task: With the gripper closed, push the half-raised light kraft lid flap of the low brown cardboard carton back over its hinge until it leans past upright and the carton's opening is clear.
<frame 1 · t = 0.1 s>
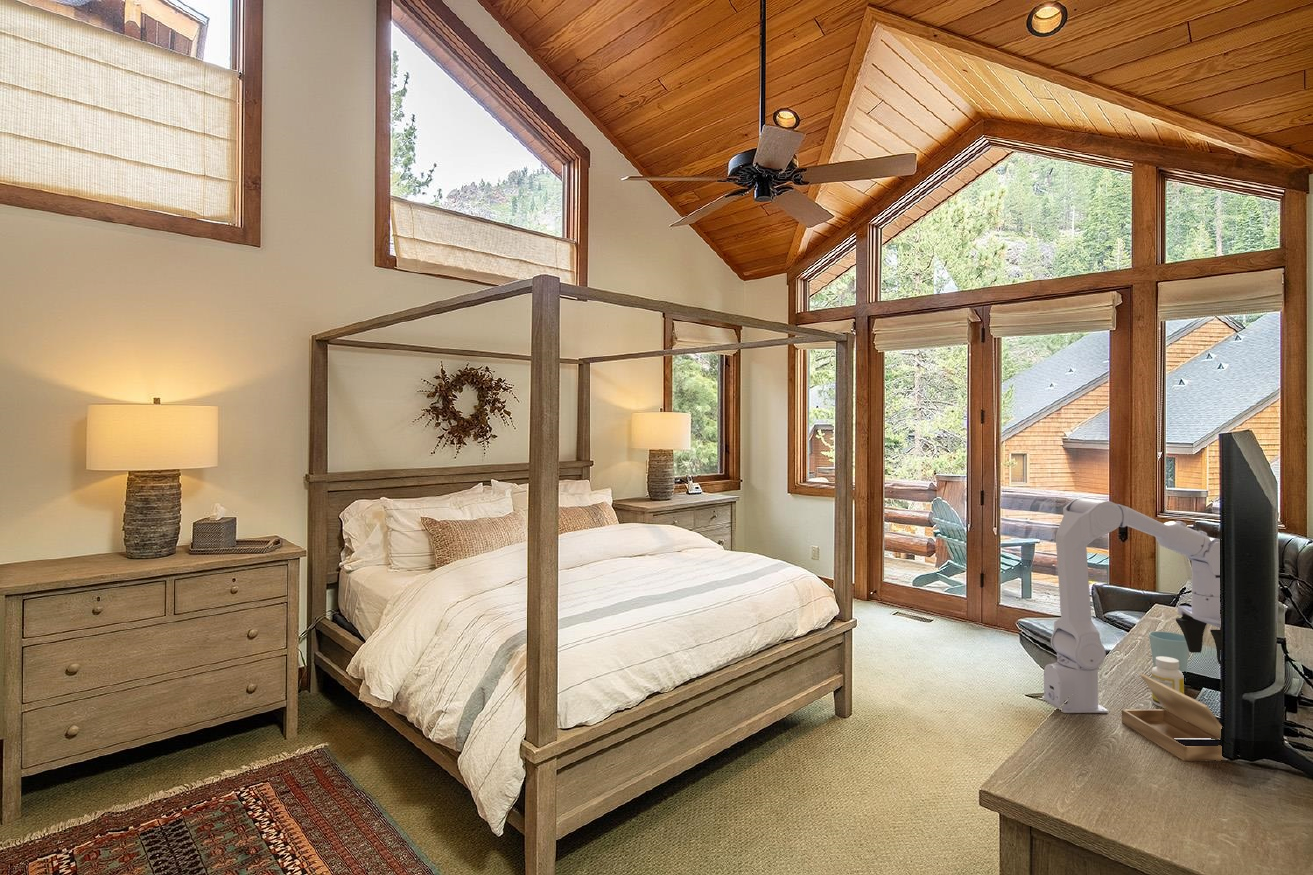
hand: (1209, 658, 140), 10 cm above the dresser, tool pointing down, fingers open, 7 cm apart
cup: (1169, 681, 154), on the dresser
carton: (1173, 740, 125), on the dresser
lid flap: (1184, 707, 125), point 6 cm above the dresser, hinge at 55.0°
supplement bottle: (1168, 706, 140), on the dresser
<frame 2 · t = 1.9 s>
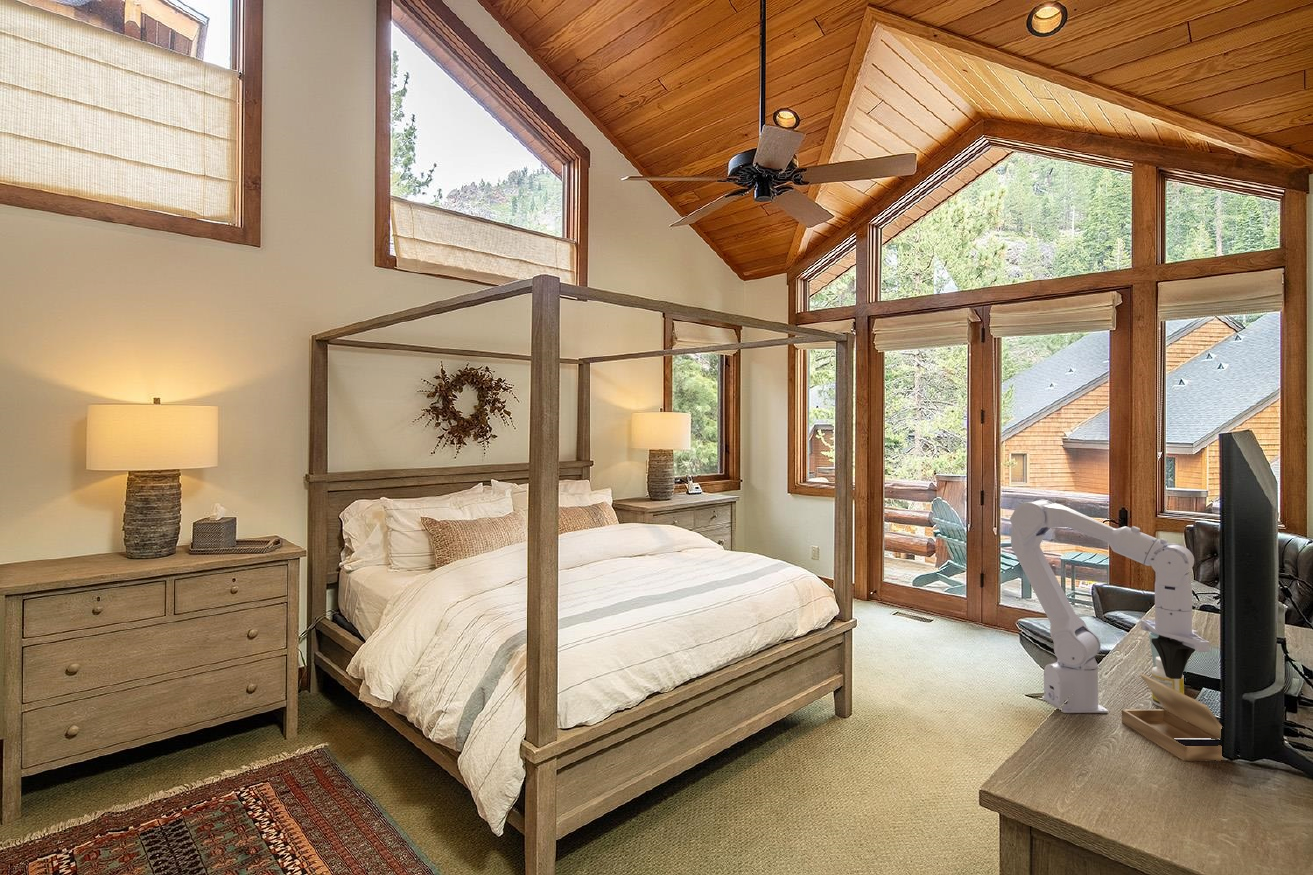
hand: (1173, 677, 128), 10 cm above the dresser, tool pointing down, fingers closed
nothing on the dresser moved.
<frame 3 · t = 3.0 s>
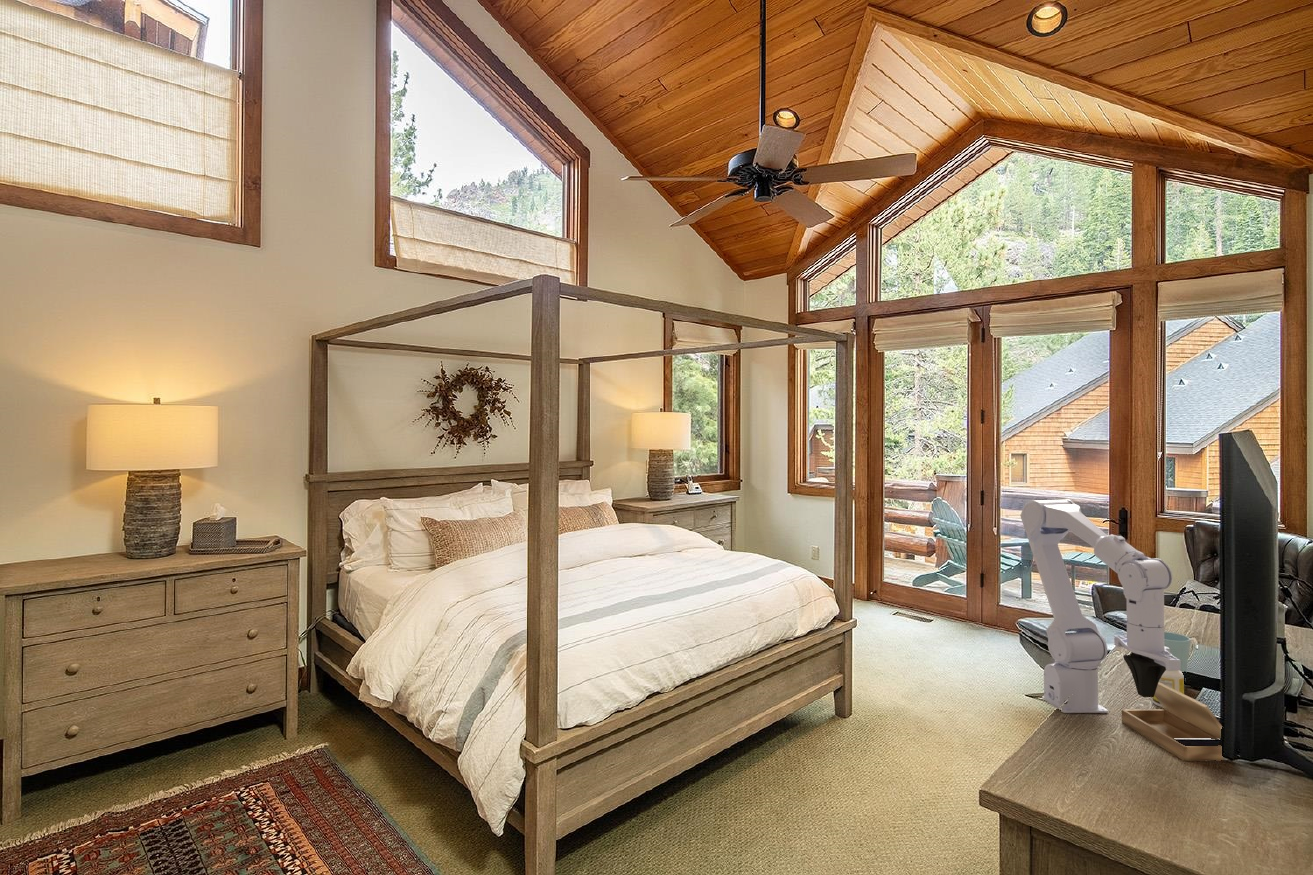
hand: (1146, 695, 125), 8 cm above the dresser, tool pointing down, fingers closed
nothing on the dresser moved.
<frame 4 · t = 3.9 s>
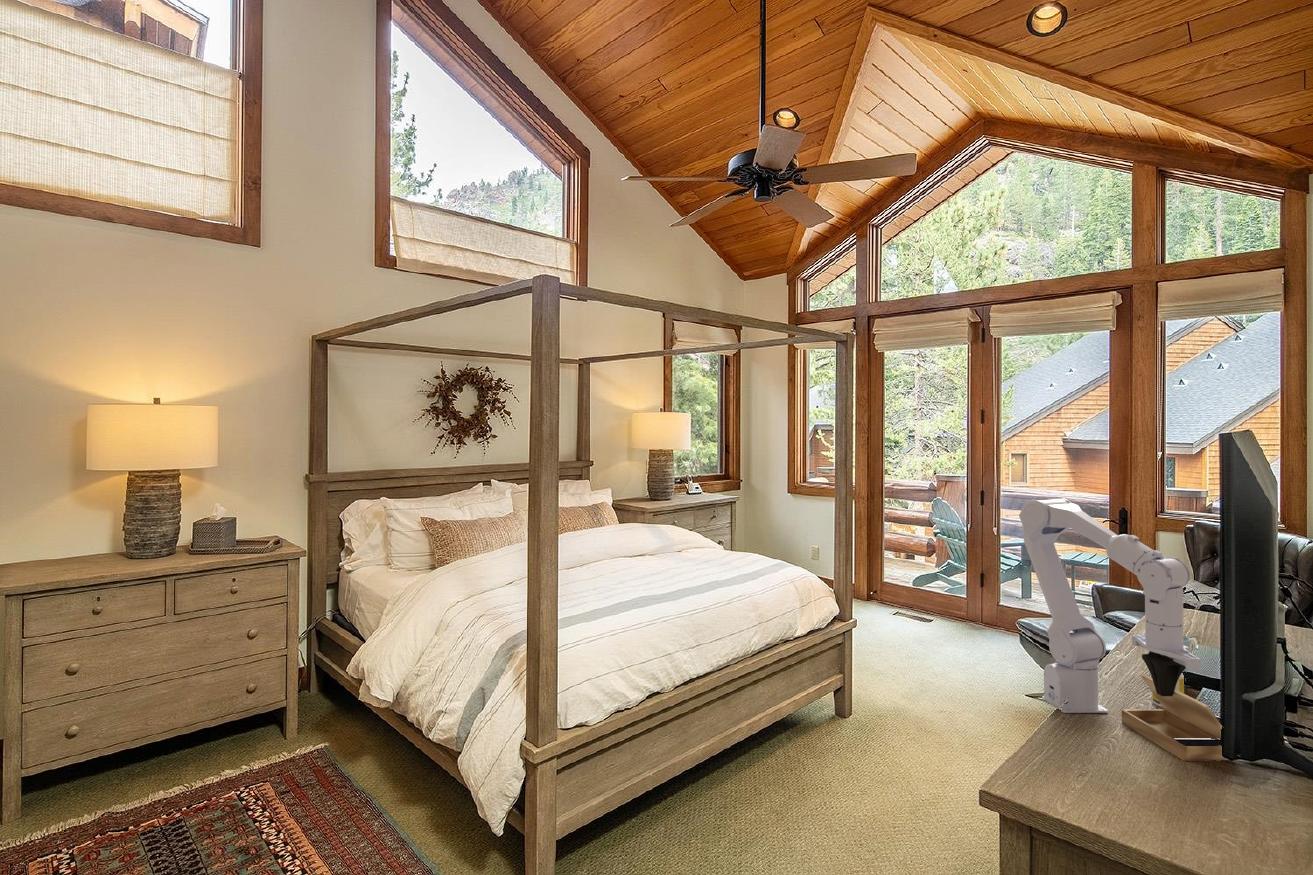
hand: (1164, 694, 125), 9 cm above the dresser, tool pointing down, fingers closed, pressing on lid flap
lid flap: (1184, 707, 125), point 6 cm above the dresser, hinge at 55.7°, touching gripper
everything else where it was.
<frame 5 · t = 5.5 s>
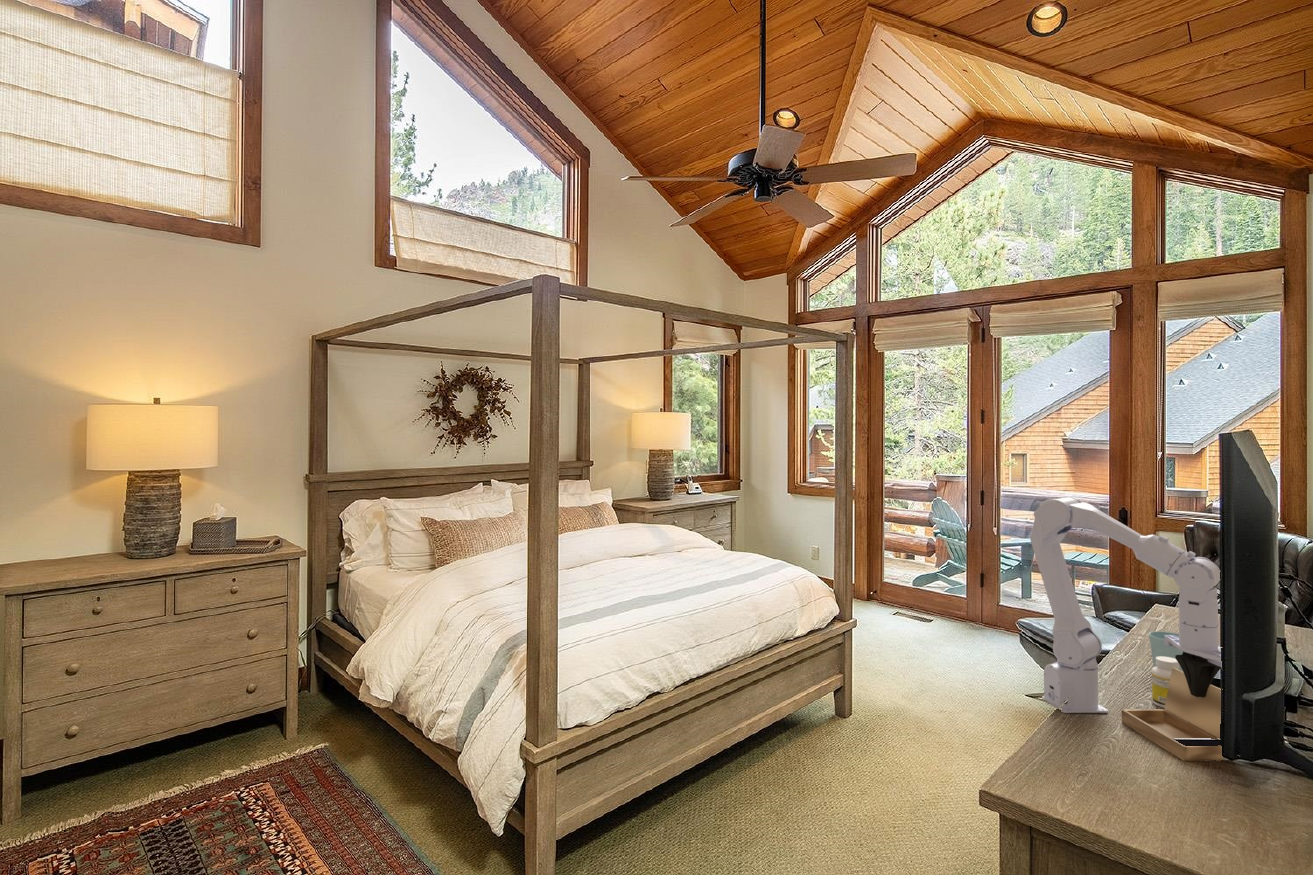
hand: (1198, 695, 125), 8 cm above the dresser, tool pointing down, fingers closed, pressing on lid flap
lid flap: (1202, 704, 125), point 7 cm above the dresser, hinge at 101.5°, touching gripper
everything else where it was.
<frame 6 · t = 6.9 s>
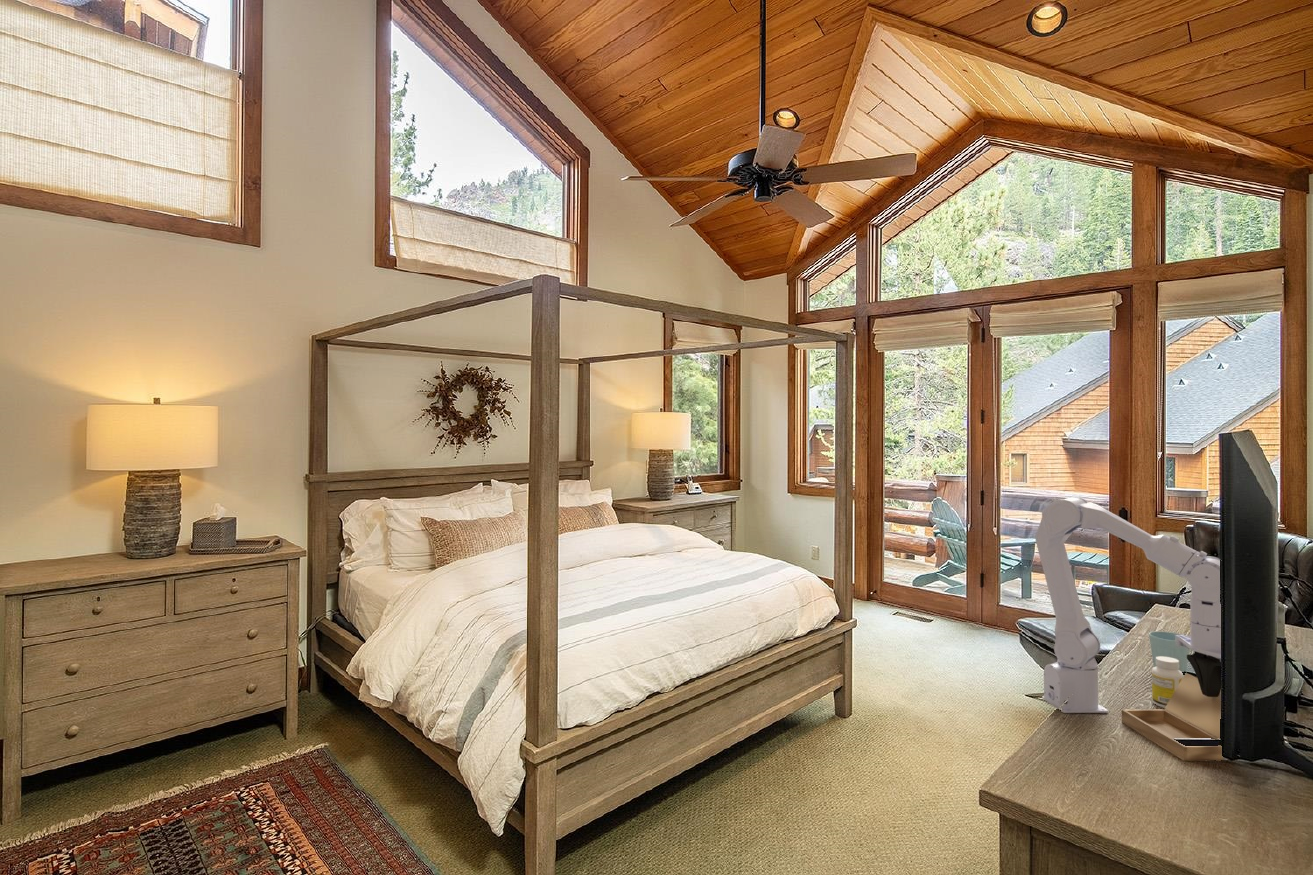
hand: (1210, 695, 125), 8 cm above the dresser, tool pointing down, fingers closed, pressing on lid flap
lid flap: (1209, 707, 125), point 6 cm above the dresser, hinge at 121.0°, touching gripper
everything else where it was.
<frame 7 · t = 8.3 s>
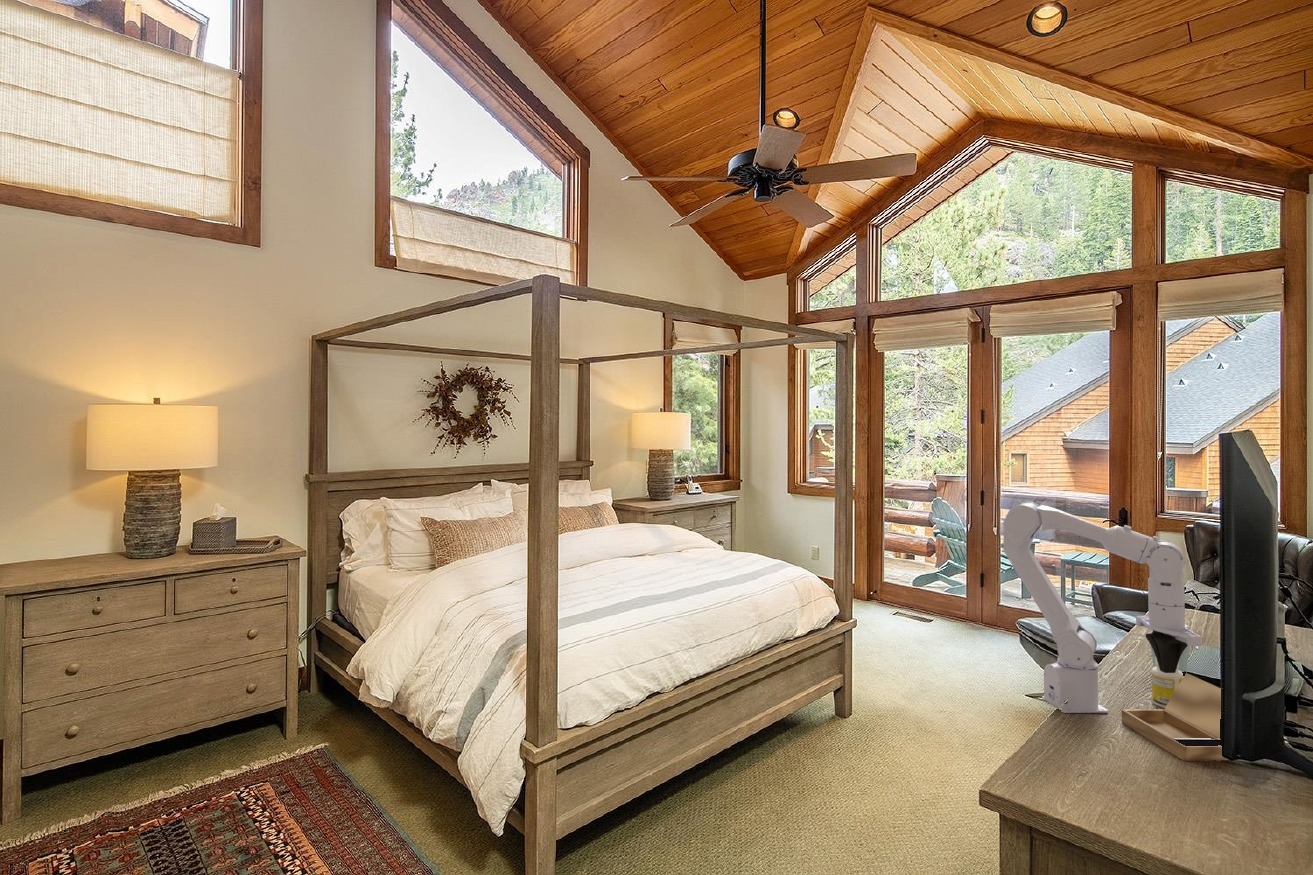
hand: (1167, 671, 131), 10 cm above the dresser, tool pointing down, fingers closed
lid flap: (1209, 707, 125), point 6 cm above the dresser, hinge at 121.4°
everything else where it was.
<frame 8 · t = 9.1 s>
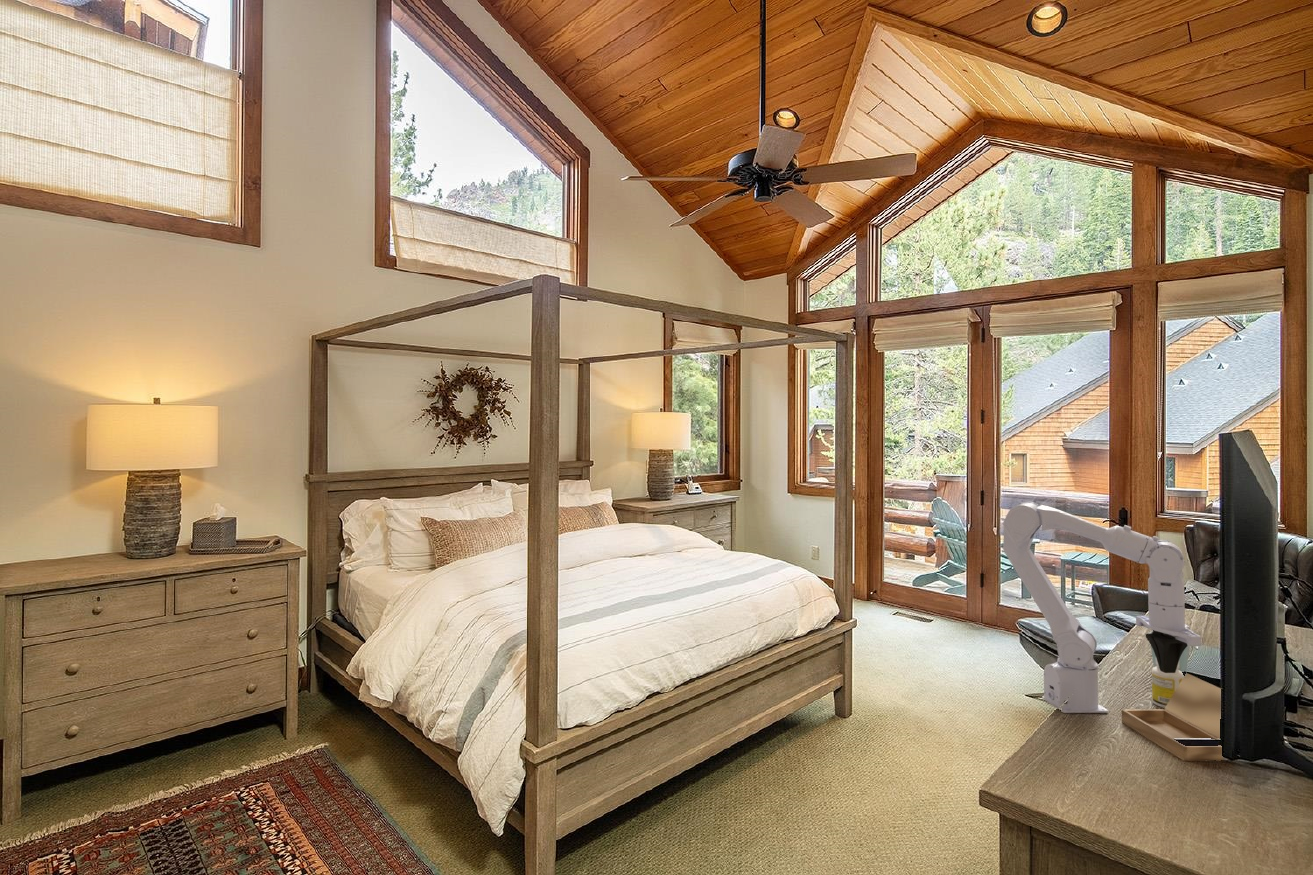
hand: (1167, 671, 131), 10 cm above the dresser, tool pointing down, fingers closed
nothing on the dresser moved.
at the end: lid flap at +121° (first picture: +55°) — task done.
